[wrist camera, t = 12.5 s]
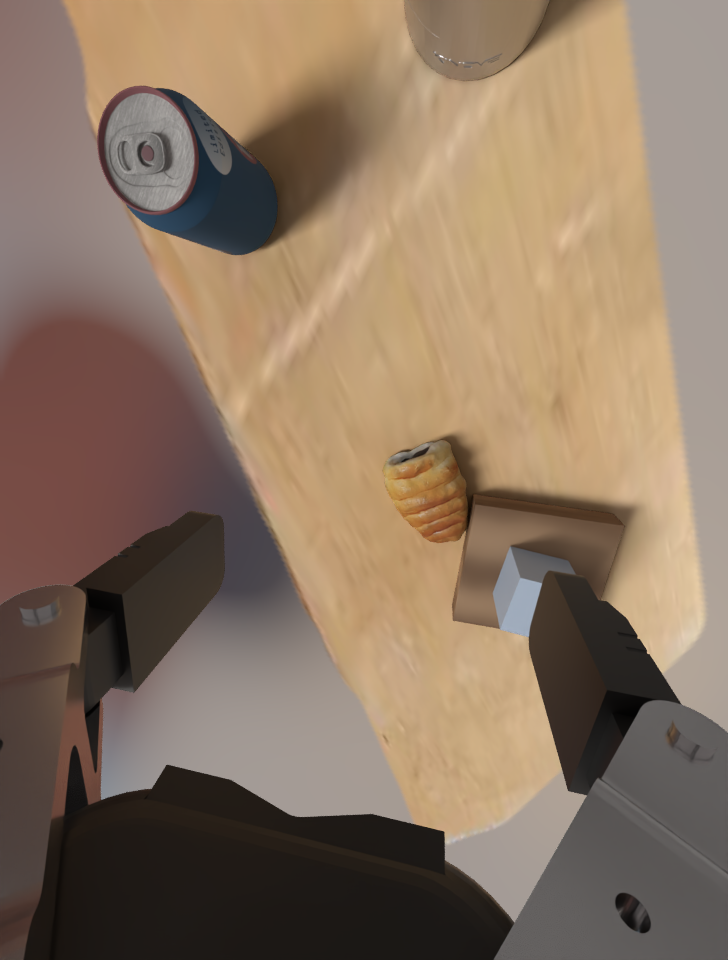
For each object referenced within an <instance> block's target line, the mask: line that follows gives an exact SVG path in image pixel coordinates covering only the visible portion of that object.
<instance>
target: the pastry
mask: <svg viewBox="0 0 728 960" xmlns="http://www.w3.org/2000/svg"><path fill="white" fill-rule="evenodd" d="M383 473H384V476H385V486H386V489H387V491H388V493H389V496H390V497H391V499H392V500H393V502H394V503H395V506H396V508H397V510H398V511H399V512H400V513H401V515H402V516H403V518H404V519H405V520H407V521H408V522H409V524H410V525H411V526H412V527H414V528H415V529H417V530H418V531H419V532H420V533H421V534H422V536H423V537H424V538H426V539H427V540H429V541H431V542H436V543H443V542H448V541H457V540H459V539H460V538H461V536H462V534H463V533H464V531H465V529H466V527H467V513H468V512H467V509H468V503H467V498H466V492H465V490H466V481H465V479H464V478H463V477H462V476H461V473H460V470H459V468H458V465H457V462H456V460H455V458H454V456H453V453H452V451H451V445H450V444H449V443H448V442H447V441H444V440H439V441H437V442H435V443H434V442H428V443H425V444H422V445H421V446H419V447H417V448H415V449H413V450H411V451H410V452H400V453H398V454H395V455H393V456H391V457H390V458H389V459H388V460H387V461H386V463H385V465H384V467H383Z"/></svg>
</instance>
